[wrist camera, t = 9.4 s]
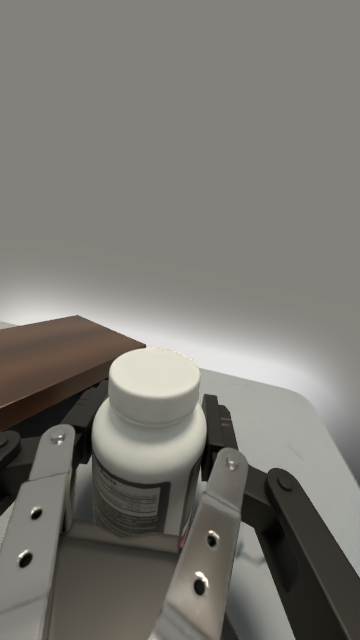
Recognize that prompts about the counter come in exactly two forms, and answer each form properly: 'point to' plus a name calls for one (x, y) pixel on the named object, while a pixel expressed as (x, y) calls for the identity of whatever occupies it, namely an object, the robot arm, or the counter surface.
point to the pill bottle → (148, 444)
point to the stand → (54, 363)
